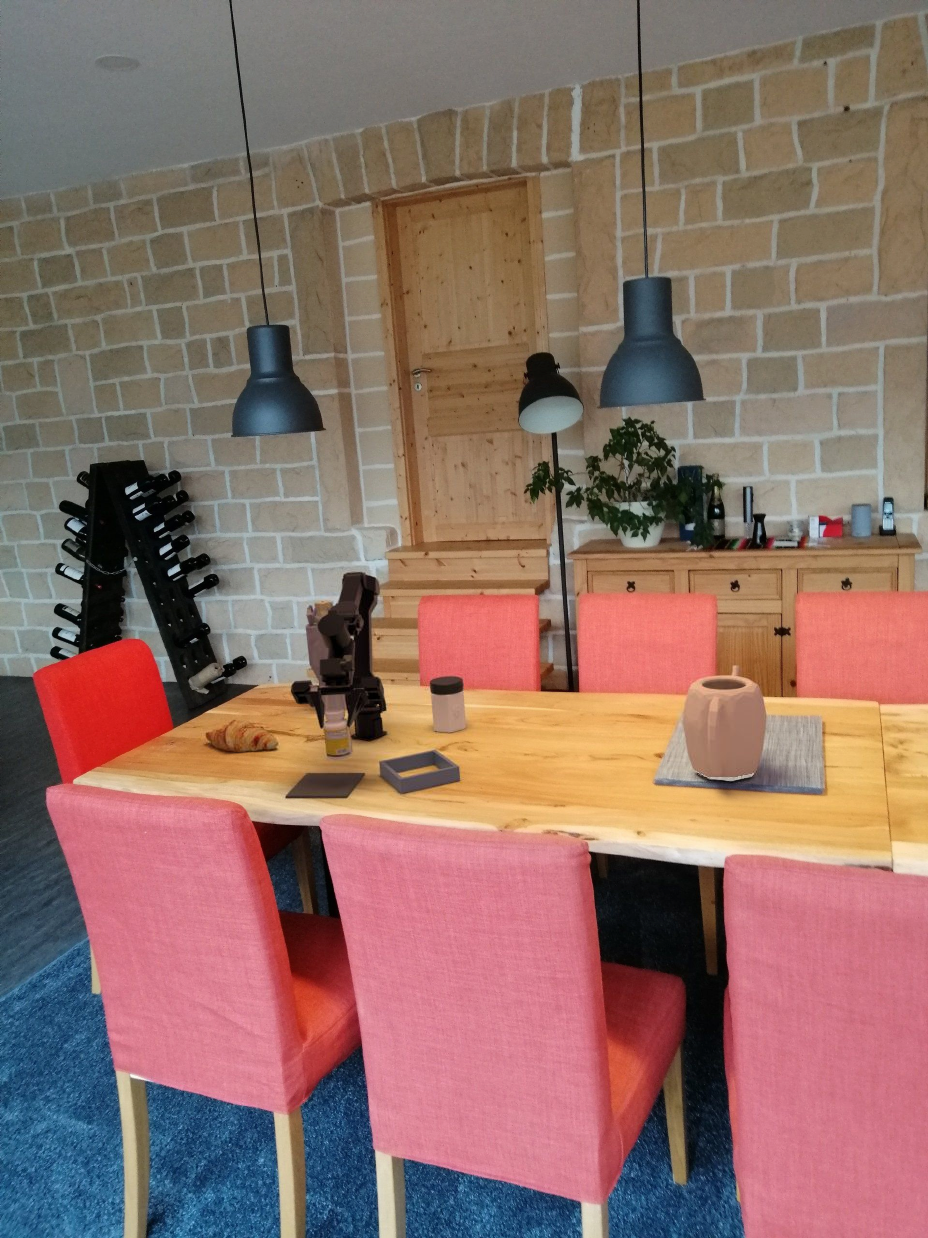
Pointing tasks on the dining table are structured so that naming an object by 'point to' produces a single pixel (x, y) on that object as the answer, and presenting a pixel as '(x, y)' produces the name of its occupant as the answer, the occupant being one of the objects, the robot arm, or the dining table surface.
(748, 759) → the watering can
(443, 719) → the jar
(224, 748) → the croissant
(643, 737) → the dining table surface
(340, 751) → the supplement bottle
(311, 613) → the vase
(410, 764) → the grey square frame
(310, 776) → the mat
